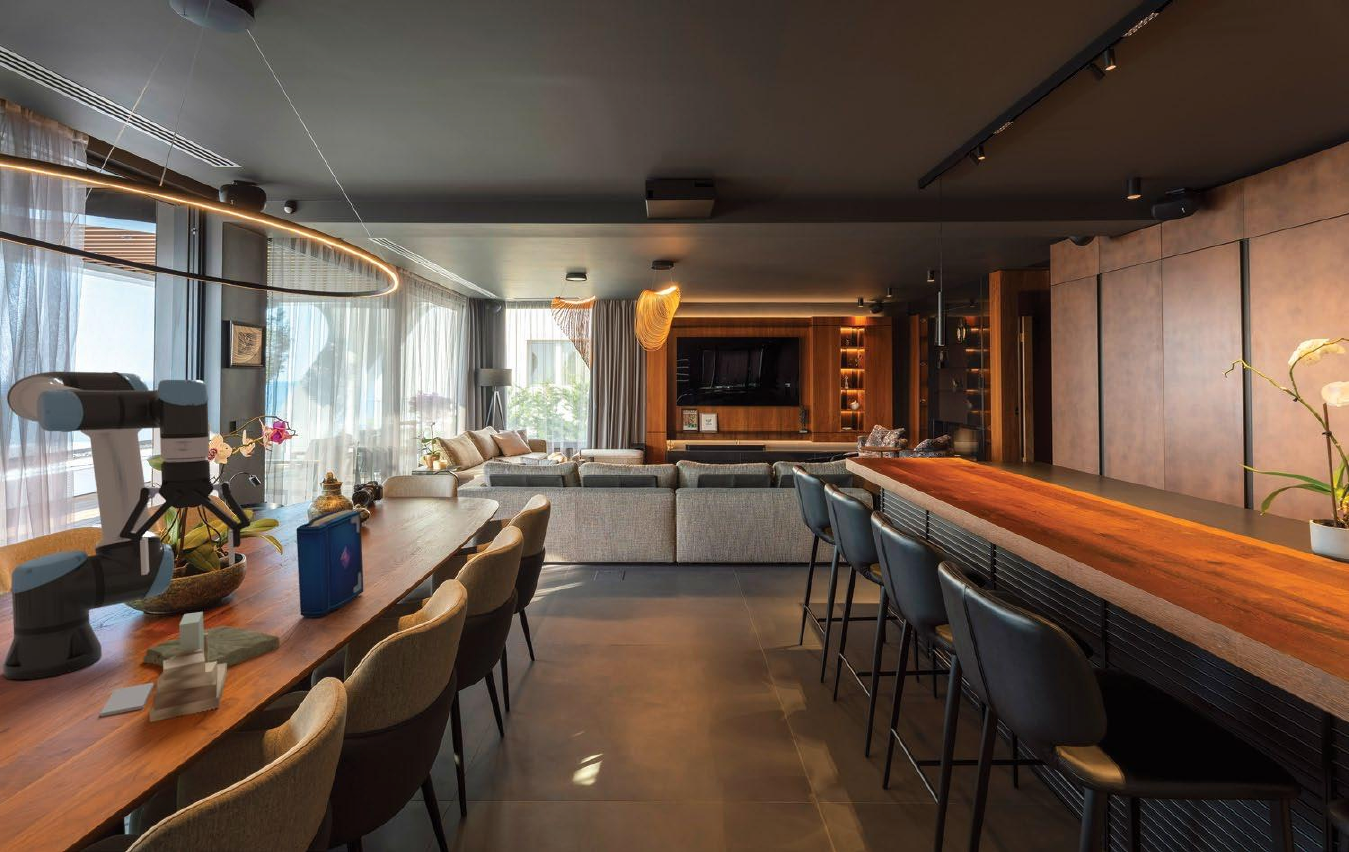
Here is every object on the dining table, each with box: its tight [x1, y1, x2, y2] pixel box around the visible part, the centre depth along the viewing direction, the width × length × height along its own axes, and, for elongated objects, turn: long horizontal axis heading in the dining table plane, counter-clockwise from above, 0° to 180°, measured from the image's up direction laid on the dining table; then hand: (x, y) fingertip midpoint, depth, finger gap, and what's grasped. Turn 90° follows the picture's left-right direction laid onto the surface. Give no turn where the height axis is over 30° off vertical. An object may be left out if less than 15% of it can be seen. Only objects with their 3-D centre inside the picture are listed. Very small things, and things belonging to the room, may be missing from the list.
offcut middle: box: [156, 661, 218, 693], centre depth 120 cm, size 8×5×2 cm, turn 115°
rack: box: [149, 633, 228, 723], centre depth 125 cm, size 10×18×9 cm, turn 30°
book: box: [296, 509, 364, 618], centre depth 177 cm, size 22×7×25 cm, turn 179°
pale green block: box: [178, 611, 205, 658], centre depth 128 cm, size 3×7×12 cm, turn 30°
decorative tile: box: [142, 625, 281, 668], centre depth 144 cm, size 19×20×4 cm
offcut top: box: [162, 653, 205, 681], centre depth 119 cm, size 6×5×2 cm
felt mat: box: [99, 682, 155, 718], centre depth 123 cm, size 6×11×1 cm, turn 31°
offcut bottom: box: [153, 676, 217, 711], centre depth 120 cm, size 9×6×2 cm, turn 123°
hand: (189, 568), depth 127 cm, fingers open, 13 cm apart
